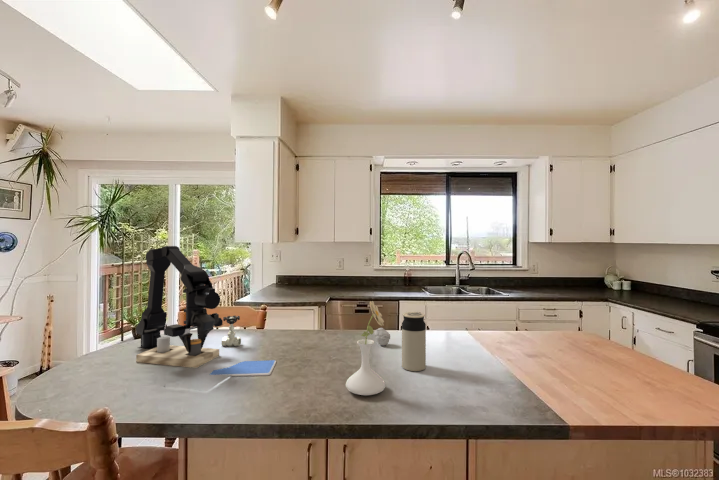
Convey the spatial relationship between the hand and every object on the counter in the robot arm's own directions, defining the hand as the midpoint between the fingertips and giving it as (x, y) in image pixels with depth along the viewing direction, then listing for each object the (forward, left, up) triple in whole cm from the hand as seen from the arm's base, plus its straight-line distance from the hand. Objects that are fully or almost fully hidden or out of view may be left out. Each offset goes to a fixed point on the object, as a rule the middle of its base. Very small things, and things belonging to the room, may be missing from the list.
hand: (194, 350), depth 117 cm
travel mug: (+76, +12, -4) cm, 77 cm away
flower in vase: (+64, -8, -4) cm, 64 cm away
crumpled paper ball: (+62, +34, -4) cm, 70 cm away
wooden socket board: (-6, 0, -4) cm, 8 cm away
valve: (+3, +18, -4) cm, 19 cm away
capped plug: (0, 0, -3) cm, 3 cm away
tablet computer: (+21, -2, -5) cm, 21 cm away
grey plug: (-13, 0, -3) cm, 13 cm away
